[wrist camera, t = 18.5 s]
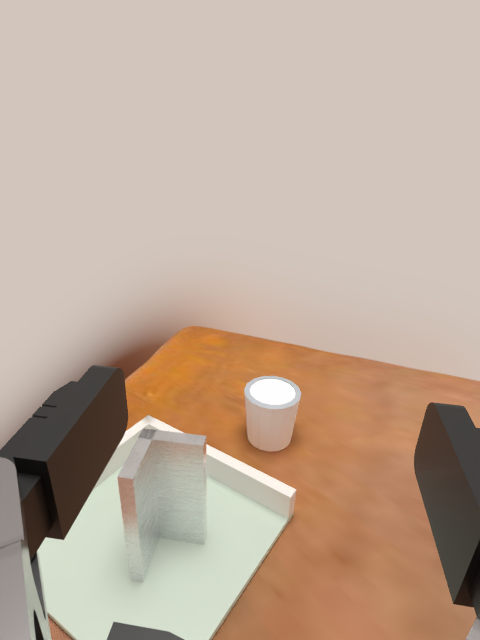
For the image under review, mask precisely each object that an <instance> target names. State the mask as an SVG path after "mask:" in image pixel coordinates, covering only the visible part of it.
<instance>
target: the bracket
mask: <svg viewBox="0 0 480 640" xmlns="http://www.w3.org/2000/svg"><path fill="white" fill-rule="evenodd" d="M117 479H118V487H119V494H120V502H121V510H122V518H123V526H124V533H125V541H126V549H127V557H128V565H129V572H130V580H133V581H139V582H144V581H145V578H146V575H147V572H148V569H149V566H150V564H151V561H152V558H153V555H154V552H155V549H156V547H157V544H158V541H159V538H163V539H169V540H175V541H182V542H188V543H195V544H201V545H204V543H205V539H206V535H207V480H206V436H202V435H194V434H186V433H178V432H170V431H162V430H154V429H146V428H143V429H142V431H141V433H140V435H139V437H138V439H137V441H136V442H135V444H134V446H133V448H132V450H131V452H130V454H129V456H128V458H127V459H126V461H125V463H124V465H123V467H122V469H121V471H120V473H119V475H118V476H117Z"/></svg>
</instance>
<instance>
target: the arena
mask: <svg viewBox="0 0 480 640" xmlns="http://www.w3.org/2000/svg"><path fill="white" fill-rule="evenodd" d="M143 428H146V429H154V430H162V431H170V432H178V433H183V432H181V431H179V430H177V429H175V428H173V427H171V426H169V425H167V424H165V423H163V422H161V421H159V420H157V419H155V418H153V417H151V416H149V415H148V416H146V417H145V418H144V419H142V420H141V421H139V422H138V423H137V424H135V425H134V426H133V427H131V428H130V429H129V430H127V431H126V432H125V434H124V436H123V438H122V440H121V442H120V443H119V445H118V447H117V449H116V450H115V452H114V454H113V456H112V457H111V459H110V461H109V462H108V464H107V466H106V468H105V469H104V471H103V473H102V475H101V476H100V478H99V480H98V482H97V483H96V485H95V487H94V489H93V490H92V492H91V494H90V496H89V497H88V499H87V501H86V502H85V504H84V506H83V508H82V509H81V511H80V513H79V515H78V516H77V518H76V520H75V522H74V523H73V525H72V527H71V529H70V530H69V532H68V534H67V535H66V537H65V539H64V540H60V539H53V538H47V537H46V538H45V539H44V541H43V542H42V544H41V546H40V547H39V549H38V554H39V559H40V566H41V573H42V580H43V587H44V594H45V601H46V607H47V614H48V616H49V617H50V618H51V619H52V620H53V621H54V622H55V623H56V624H58V625H59V626H60V627H61V628H62V629H63V630H64V631H65V632H66V633H67V634H68V635H69V636H70V637H71V638H72V639H73V640H107V637H108V635H109V632H110V630H111V627H112V624H113V622H119V623H124V624H130V625H135V626H141V627H146V628H152V629H157V630H163V631H169V632H171V633H173V634H175V635H177V636H179V637H180V638H182V639H184V640H212V638H213V637H214V635H215V634H216V632H217V631H218V629H219V628H220V626H221V625H222V623H223V622H224V620H225V619H226V617H227V615H228V614H229V612H230V611H231V609H232V608H233V606H234V605H235V603H236V602H237V600H238V599H239V597H240V596H241V594H242V593H243V591H244V589H245V588H246V586H247V585H248V583H249V582H250V580H251V579H252V577H253V576H254V574H255V573H256V571H257V570H258V568H259V567H260V565H261V564H262V562H263V560H264V559H265V557H266V556H267V554H268V553H269V551H270V550H271V548H272V547H273V545H274V544H275V542H276V541H277V539H278V538H279V536H280V534H281V533H282V531H283V530H284V528H285V527H286V525H287V524H288V522H289V521H290V519H291V518H292V516H293V513H294V504H295V496H296V489H294V488H292V487H290V486H288V485H286V484H284V483H282V482H280V481H278V480H276V479H274V478H272V477H270V476H268V475H266V474H264V473H262V472H260V471H258V470H256V469H254V468H252V467H251V466H249V465H247V464H245V463H243V462H241V461H239V460H237V459H235V458H233V457H231V456H229V455H227V454H225V453H223V452H221V451H219V450H217V449H215V448H213V447H211V446H209V445H207V444H206V480H207V535H206V539H205V543H204V545H201V544H195V543H188V542H182V541H175V540H169V539H163V538H159V541H158V544H157V547H156V549H155V552H154V555H153V558H152V561H151V564H150V566H149V569H148V572H147V575H146V578H145V581H144V582H139V581H133V580H130V572H129V565H128V557H127V549H126V541H125V533H124V526H123V518H122V510H121V502H120V494H119V487H118V479H117V476H118V475H119V473H120V471H121V469H122V467H123V465H124V463H125V461H126V459H127V458H128V456H129V454H130V452H131V450H132V448H133V446H134V444H135V442H136V441H137V439H138V437H139V435H140V433H141V431H142V429H143Z"/></svg>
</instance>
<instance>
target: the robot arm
mask: <svg viewBox="0 0 480 640" xmlns="http://www.w3.org/2000/svg"><path fill="white" fill-rule="evenodd" d="M127 422H128V409H127V400H126V390H125V380H124V374H123V371H122V369H120V368H114V367H105V366H96V365H94V366H91V367H90V368H89V369H88V371H87V372H86V373H85V374H84V375H83V377H82V378H81V379H80V380H79V381H78V382H73V381H71V382H69V383H68V384H66V385H64V386H63V387H61V388H59V389H58V390H56V391H54V392H53V393H52V394H51V396H50V397H49V398H48V399H47V400H46V401H45V402H44V403H43V404H42V407H40V408H39V409H38V410H37V411H36V412H35V413H34V414H33V417H32V418H29V419H28V421H27V422H26V423H25V424H24V425H23V426H22V427H21V428H20V429H19V430H18V432H17V433H16V434H15V435H14V436H13V437H12V438H11V439H10V440H9V441H8V442H7V444H6V445H5V446H4V447H3V448H2V449H1V450H0V640H51V634H50V628H49V621H48V614H47V607H46V601H45V594H44V587H43V580H42V573H41V566H40V559H39V554H38V549H39V547H40V546H41V544H42V542H43V541H44V539H45V538H46V537H47V538H53V539H60V540H64V539H65V537H66V535H67V534H68V532H69V530H70V529H71V527H72V525H73V523H74V522H75V520H76V518H77V516H78V515H79V513H80V511H81V509H82V508H83V506H84V504H85V502H86V501H87V499H88V497H89V496H90V494H91V492H92V490H93V489H94V487H95V485H96V483H97V482H98V480H99V478H100V476H101V475H102V473H103V471H104V469H105V468H106V466H107V464H108V462H109V461H110V459H111V457H112V456H113V454H114V452H115V450H116V449H117V447H118V445H119V443H120V442H121V440H122V438H123V436H124V434H125V431H126V428H127ZM414 468H415V474H416V478H417V482H418V485H419V488H420V492H421V495H422V499H423V502H424V505H425V509H426V512H427V516H428V519H429V522H430V526H431V529H432V533H433V536H434V539H435V543H436V546H437V550H438V553H439V557H440V560H441V563H442V567H443V570H444V574H445V577H446V580H447V584H448V587H449V591H450V594H451V597H452V601H453V604H457V605H463V606H469V607H474V609H475V612H476V615H477V618H476V620H475V622H474V624H473V626H472V628H471V630H470V632H469V634H468V636H467V638H466V640H480V428H476V427H475V425H474V423H473V422H472V420H471V418H470V416H469V414H468V412H467V410H466V409H465V407H464V406H459V405H450V404H441V403H430V404H429V405H428V406H427V409H426V412H425V416H424V420H423V423H422V427H421V431H420V434H419V438H418V442H417V445H416V449H415V456H414ZM107 640H184V639H182V638H180V637H179V636H177V635H175V634H173V633H171V632H169V631H163V630H157V629H152V628H146V627H141V626H135V625H130V624H124V623H119V622H113V624H112V627H111V630H110V632H109V635H108V637H107Z"/></svg>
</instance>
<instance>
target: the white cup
mask: <svg viewBox="0 0 480 640" xmlns="http://www.w3.org/2000/svg"><path fill="white" fill-rule="evenodd" d="M244 393H245V408H246V424H247V436H248V440H249V442H250V443H251V444H252V445H253V446H254V447H256V448H258V449H259V450H263V451H268V452H272V451H279V450H282V449H284V448H286V447H287V446H288V445H289V444H290V441H291V437H292V433H293V428H294V424H295V419H296V415H297V410H298V406H299V402H300V397H301V392H300V389H299V387H298V386H297V385H295V384H294V383H293V382H292V381H289V380H287V379H285V378H281V377H276V376H262V377H259V378H255V379H253V380H251V381H250V382H249V383H247V385H246V387H245V389H244Z"/></svg>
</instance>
